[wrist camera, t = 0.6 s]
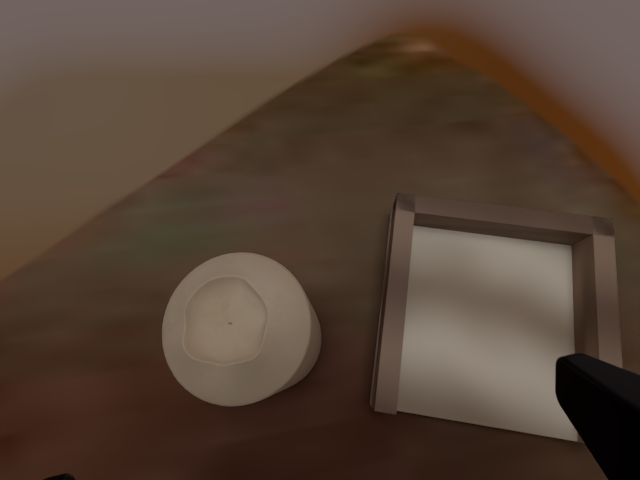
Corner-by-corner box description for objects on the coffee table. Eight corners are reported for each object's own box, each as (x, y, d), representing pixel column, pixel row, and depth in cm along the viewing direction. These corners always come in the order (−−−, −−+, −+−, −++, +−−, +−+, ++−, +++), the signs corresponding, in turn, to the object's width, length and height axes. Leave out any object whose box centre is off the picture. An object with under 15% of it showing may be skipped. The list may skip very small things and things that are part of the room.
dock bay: (584, 440, 20) (628, 454, 17) (369, 404, 21) (374, 411, 18) (577, 237, 23) (612, 218, 20) (390, 214, 24) (397, 192, 21)
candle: (342, 347, 22) (342, 336, 13) (262, 411, 21) (198, 451, 12) (284, 272, 24) (246, 211, 14) (208, 329, 23) (112, 305, 13)
